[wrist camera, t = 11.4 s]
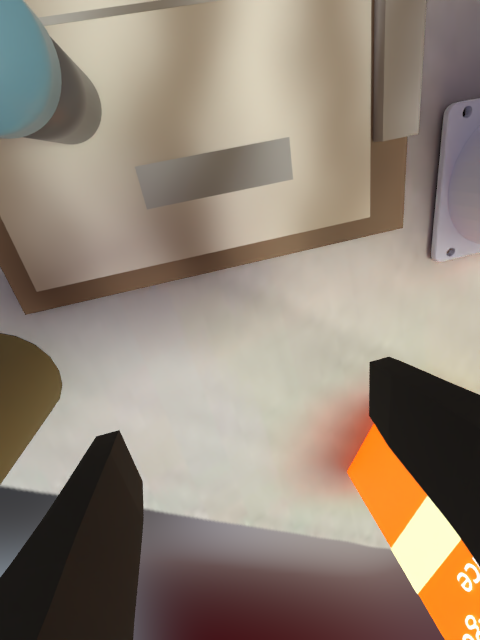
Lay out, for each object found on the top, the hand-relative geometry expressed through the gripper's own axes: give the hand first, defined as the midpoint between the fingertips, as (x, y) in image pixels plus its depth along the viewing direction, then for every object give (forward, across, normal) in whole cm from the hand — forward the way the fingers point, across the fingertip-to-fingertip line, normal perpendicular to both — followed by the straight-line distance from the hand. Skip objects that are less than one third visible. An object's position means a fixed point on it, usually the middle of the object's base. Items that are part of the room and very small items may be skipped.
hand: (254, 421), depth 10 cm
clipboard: (+10, -1, -9) cm, 13 cm away
